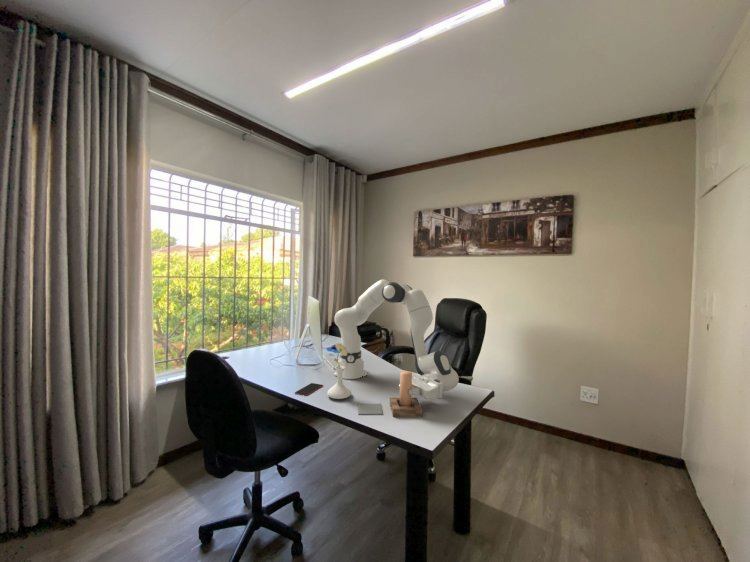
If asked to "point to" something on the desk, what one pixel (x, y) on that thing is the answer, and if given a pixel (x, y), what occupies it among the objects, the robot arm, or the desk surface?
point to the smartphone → (308, 389)
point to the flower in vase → (339, 378)
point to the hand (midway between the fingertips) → (404, 389)
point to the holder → (405, 408)
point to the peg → (405, 388)
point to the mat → (369, 409)
